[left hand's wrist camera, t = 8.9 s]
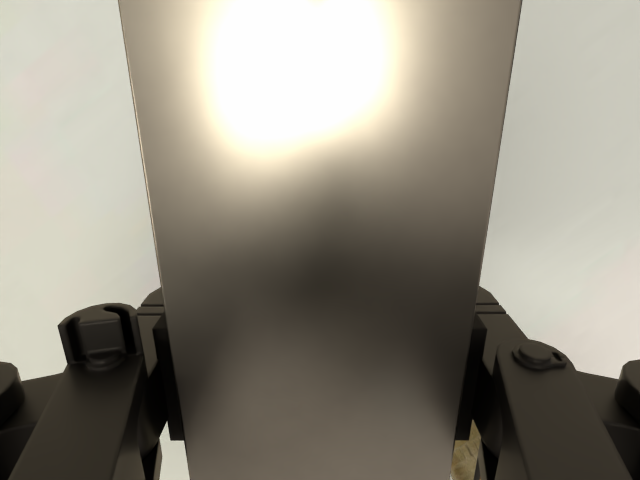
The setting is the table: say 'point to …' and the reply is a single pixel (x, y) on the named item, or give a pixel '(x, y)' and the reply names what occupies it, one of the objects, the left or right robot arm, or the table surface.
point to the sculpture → (466, 456)
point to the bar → (319, 222)
